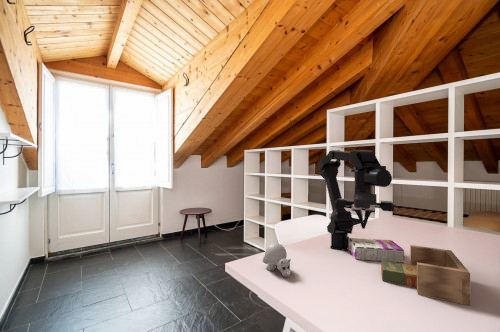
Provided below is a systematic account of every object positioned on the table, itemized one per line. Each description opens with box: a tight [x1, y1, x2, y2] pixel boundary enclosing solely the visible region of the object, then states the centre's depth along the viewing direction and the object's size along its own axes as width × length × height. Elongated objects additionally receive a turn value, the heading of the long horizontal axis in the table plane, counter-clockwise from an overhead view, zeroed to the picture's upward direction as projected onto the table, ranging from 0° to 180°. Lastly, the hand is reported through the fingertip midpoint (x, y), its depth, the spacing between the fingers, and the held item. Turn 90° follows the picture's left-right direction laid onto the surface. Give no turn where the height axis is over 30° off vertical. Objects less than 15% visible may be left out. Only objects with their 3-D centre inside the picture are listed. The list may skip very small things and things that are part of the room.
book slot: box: [409, 244, 471, 307], centre depth 68 cm, size 10×18×8 cm, turn 151°
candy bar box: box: [348, 237, 405, 263], centre depth 90 cm, size 11×5×16 cm
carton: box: [380, 260, 417, 289], centre depth 69 cm, size 8×16×4 cm, turn 62°
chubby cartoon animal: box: [262, 242, 291, 278], centre depth 76 cm, size 7×12×8 cm, turn 24°
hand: (363, 228), depth 84 cm, fingers closed
